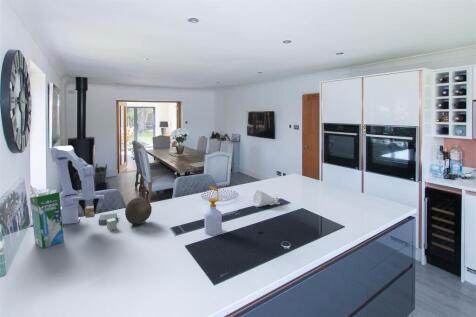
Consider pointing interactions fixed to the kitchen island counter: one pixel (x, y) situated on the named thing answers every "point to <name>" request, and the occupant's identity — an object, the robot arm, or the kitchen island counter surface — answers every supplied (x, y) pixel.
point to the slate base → (107, 216)
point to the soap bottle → (213, 218)
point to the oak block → (89, 211)
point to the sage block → (111, 224)
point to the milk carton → (47, 219)
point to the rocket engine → (264, 199)
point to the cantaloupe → (138, 211)
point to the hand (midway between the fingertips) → (90, 212)
